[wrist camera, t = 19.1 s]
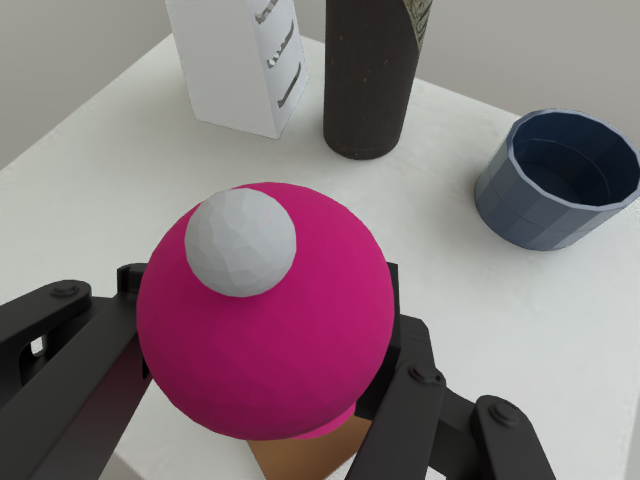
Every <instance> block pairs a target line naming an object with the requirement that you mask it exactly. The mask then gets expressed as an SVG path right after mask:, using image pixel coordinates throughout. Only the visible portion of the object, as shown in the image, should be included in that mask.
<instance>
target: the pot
mask: <svg viewBox="0 0 640 480" xmlns="http://www.w3.org/2000/svg"><path fill="white" fill-rule="evenodd" d="M639 196H640V152H639V150H638V149H637V148H636V147H635V146H634V145H633V143H632V142H631V141H630V140H629V139H628V137H627V136H626V135H625V134H623V133H622V132H620V131H619V130H617V129H616V128H614V127H613V126H611V125H610V124H608V123H607V122H605V121H604V120H601V119H599V118H596V117H593V116H590V115H588V114H585V113H583V112H579V111H574V110H566V109H556V108H551V109H545V110H539V111H534V112H531V113H529V114H527V115H525V116H524V117H522V118H521V119H519V120H517V121H516V122H515V123H514V124H513V125H512V127H511V128H510V130H509V131H508V133H507V135H506V136H505V138H504V139H503V141H502V142H501V144H500V145H499V147H498V148H497V150H496V151H495V153H494V155H493V156H492V158H491V159H490V161H489V162H488V164H487V165H486V167H485V168H484V170H483V172H482V174H481V175H480V177H479V179H478V181H477V183H476V186H475V202H476V206H477V209H478V211H479V213H480V215H481V217H482V218H483V220H484V221H485V222H486V224H487V225H488V226H489V227H490V228H491V229H492V230H493V231H494V232H495V233H497V234H498V235H499V236H501V237H502V238H504V239H505V240H507V241H509V242H511V243H513V244H515V245H518V246H520V247H524V248H527V249H532V250H539V251H550V250H557V249H561V248H564V247H566V246H570V245H571V244H573V243H574V242H576V241H577V240H579V239H580V238H582V237H583V236H585V235H586V234H588V233H589V232H590V231H592V230H593V229H595V228H596V227H598V226H599V225H601V224H602V223H604V222H605V221H606V220H608V219H609V218H611V217H612V216H614V215H615V214H617V213H618V212H620V211H621V210H623V209H624V208H625V207H627V206H628V205H629V204H631V203H632V202H633V201H634V200H635V199H637V198H638V197H639Z"/></svg>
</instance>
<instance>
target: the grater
mask: <svg viewBox="0 0 640 480" xmlns="http://www.w3.org/2000/svg"><path fill="white" fill-rule="evenodd" d="M269 2H272V3H273V4H274V8H273V9H272V10H270V9H268V7H267V5H268V4H269ZM165 3H166V7H167V11H168V14H169V19H170V22H171V27H172V31H173V35H174V38H175V42H176V46H177V50H178V54H179V58H180V62H181V66H182V70H183V74H184V78H185V82H186V86H187V90H188V94H189V98H190V102H191V106H192V110H193V114H194V118H195V119H197V120H201V121H205V122H209V123H213V124H217V125H221V126H225V127H229V128H233V129H237V130H241V131H245V132H249V133H253V134H257V135H261V136H265V137H269V138H273V139H277V140H278V139H279V137H280V135H281V133H282V131H283V129H284V127H285V125H286V123H287V121H288V119H289V117H290V116H291V114H292V112H293V110H294V108H295V106H296V104H297V102H298V100H299V98H300V96H301V94H302V92H303V90H304V88H305V87H306V85H307V83H308V81H309V76H308V72H307V67H306V62H305V57H304V52H303V47H302V43H301V38H300V33H299V28H298V23H297V18H296V14H295V9H294V4H293V0H165ZM265 12H269V13H270V14H269V15H268V16H267V18H265V16H264V13H265ZM255 14H259V15H261V14H262V17H261V18H257V17H256V16H255ZM256 21H257V22H258V25H257V22H256ZM261 22H263V23H262V24H261ZM284 39H285V42H284V43H283V41H284ZM280 46H281V51H278V49H279V48H280ZM276 52H277V53H278V54H279V58H275V57H274V56H275V54H276ZM269 60H274V61H275V65H271V64H270V63H269ZM294 77H298V79H297V81H296V83H295V85H294V86H293V88H292V90H291V92H290V94H289V96H288V98H287V99H286V101H285V103H284V105H283V106H282V107H281V108H279V106H278V102H277V101H280V100H282V99H283V97H284V95H285V94H286V92H287V90H288V88H289V86H290V84H291V83H292V81H293V79H294Z"/></svg>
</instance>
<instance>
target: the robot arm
mask: <svg viewBox="0 0 640 480" xmlns="http://www.w3.org/2000/svg"><path fill="white" fill-rule="evenodd" d="M386 263H387V265H388V268H389V271H390V276H391V282H392V287H393V293H394V321H393V329H392V336H391V339H390V342H389V345H388V348H387V350H386V353H385V356H384V359H383V362H382V365H381V366H380V368H379V370H378V371H377V373H376V375H375V377H374V378H373V380H372V381H371V383H370V384H369V386H368V387H367V388H366V390H365V391H364V393H363V394H362V395H361V396H360V397H359V398H358V399H357V400H356V405H355V412H354V416H357V417H360V418H363V419H366V420H370V421H372V423H371V425H370V427H369V429H368V431H367V433H366V435H365V438H364V440H363V442H362V444H361V446H360V448H359V450H358V452H357V454H356V456H355V458H354V461H353V463H352V465H351V467H350V469H349V471H348V473H347V475H346V477H345V479H344V480H425V476H426V472H427V468H428V466H429V467H431V468H433V469H434V470H436V471H438V472H439V473H441V474H442V475H444V476H446V480H556V478H555V476H554V473H553V471H552V469H551V467H550V464H549V462H548V460H547V458H546V455H545V453H544V451H543V448H542V446H541V444H540V442H539V439H538V437H537V435H536V433H535V430H534V428H533V426H532V424H531V422H530V421H529V419H528V418H527V416H526V415H525V414H524V413H523V412H522V411H521V410H520V409H519V408H518V407H516V406H515V405H513V404H512V403H510V402H508V401H507V400H504V399H502V398H499V397H497V396H491V395H484V396H480V397H479V398H478V399H477V401H476V403H473V402H471V401H469V400H467V399H465V398H463V397H461V396H459V395H457V394H456V393H454V392H452V391H451V390H450V389H449V388H447V387H446V379H445V378H444V376H443V374H442V373H441V372H440V371H439V370H438V369H437V368H436V367H435V363H434V357H433V352H432V347H431V341H430V338H429V337H430V336H429V331H428V328H427V326H426V325H425V324H424V322H423V321H422V320H421V319H417V318H414V317H410V316H406V315H402V314H400V305H399V282H398V264H394V263H390V262H386ZM147 265H148V263H134V264H128V265H125V266H122V267H120V268H118V269H117V294H116V295H115V296H114V297H113V298H106V297H93V296H92V291H91V286H90V285H89V284H88V283H86V282H84V281H78V280H62V281H58V282H53V283H51V284H48V285H45V286H43V287H40V288H38V289H36V290H34V291H32V292H30V293H27V294H25V295H23V296H21V297H19V298H16V299H14V300H12V301H10V302H8V303H5V304H3V305H1V306H0V480H98V479H99V477H100V475H101V473H102V472H103V470H104V468H105V466H106V464H107V462H108V460H109V459H110V457H111V455H112V453H113V451H114V449H115V447H116V446H117V444H118V442H119V440H120V438H121V436H122V434H123V433H124V431H125V429H126V427H127V425H128V423H129V421H130V420H131V418H132V416H133V414H134V412H135V410H136V408H137V407H138V405H139V403H140V401H141V399H142V397H143V395H144V394H145V392H146V390H147V388H148V386H149V384H150V382H151V381H152V379H153V377H152V374H151V372H150V370H149V368H148V366H147V364H146V361H145V358H144V356H143V353H142V350H141V345H140V341H139V336H138V331H137V311H136V303H137V299H138V294H139V289H140V285H141V280H142V276H143V274H144V272H145V269H146V267H147ZM39 337H42V347H43V349H42V350H41V351H39V352H38V353H35V354H33V353H32V350H31V342H32V341H34V340H36V339H37V338H39Z"/></svg>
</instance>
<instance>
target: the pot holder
mask: <svg viewBox="0 0 640 480" xmlns="http://www.w3.org/2000/svg"><path fill="white" fill-rule="evenodd" d="M354 412H355V411H354ZM371 423H372V421H370V420H366V419H363V418H360V417H357V416H354V413H353V414H352V415H351V416H350V417H349V418H348V420H347V421H346V422H344V423H343V424H342V425H341V426H339V427H338V428H337V429H335V430H333V431H331V432H330V433H328V434H325V435H322V436H320V437H317V438H311V439H292V438H288V439H281V440H267V441H253V440H247V442H248V444H249V446H250V448H251V450H252V452H253V454H254V456H255V458H256V460H257V462H258V464H259V466H260V468H261V470H262V472H263V474H264V476H265V478H266V480H325V479H326V478H327V477H328V476H330V475H331V474H332V473H333V472H334V471H336V470H337V469H338V468H339V467H340V466H342V465H343V464H344V463H345V462H346V461H348V460H349V459H350V458H351V457H352V456H353V455H355V454H356V453H357V452H358V450H359V448H360V446H361V444H362V442H363V440H364V438H365V435H366V433H367V431H368V429H369V427H370V425H371Z"/></svg>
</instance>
